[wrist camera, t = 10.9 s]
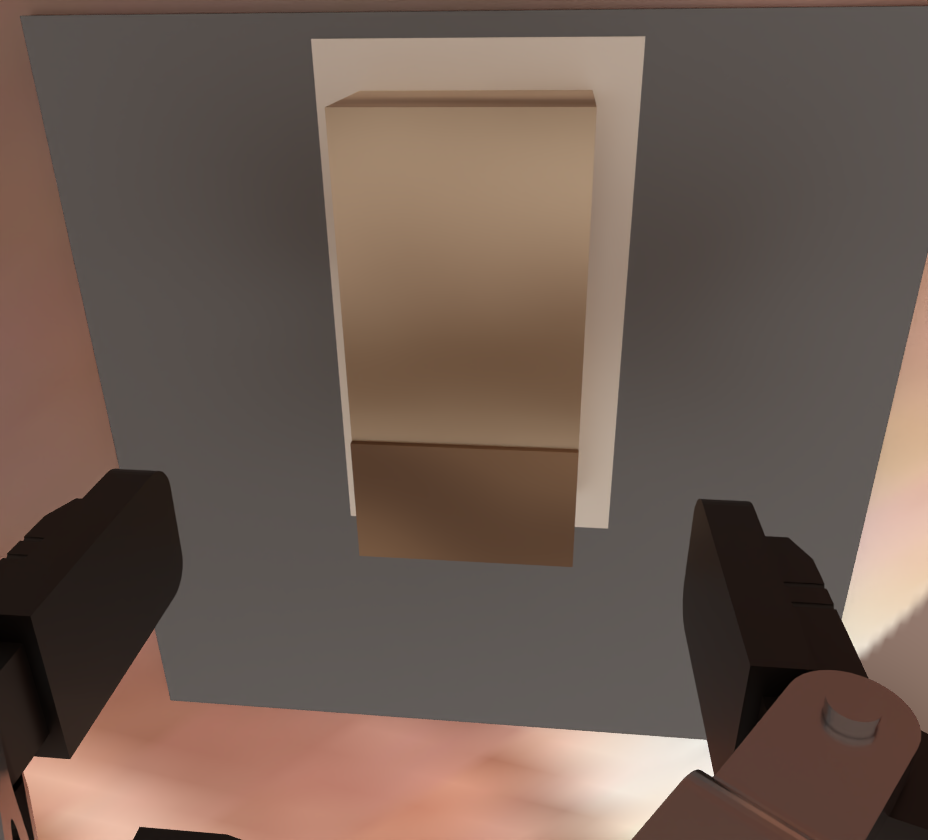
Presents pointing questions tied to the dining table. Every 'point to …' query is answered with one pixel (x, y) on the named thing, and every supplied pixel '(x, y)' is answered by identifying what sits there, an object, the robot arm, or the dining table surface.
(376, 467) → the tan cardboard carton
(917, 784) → the robot arm
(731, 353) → the mat
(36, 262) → the dining table surface
